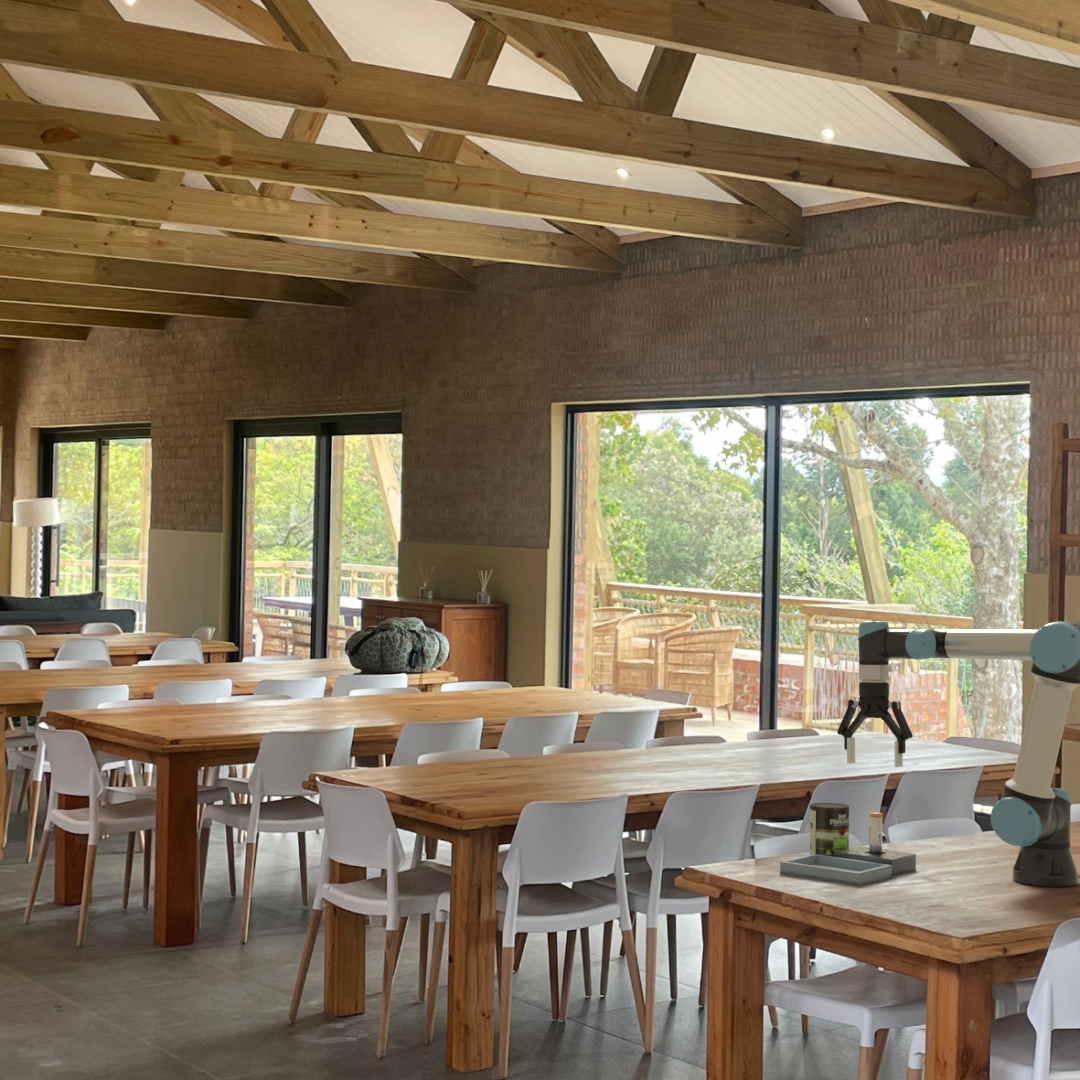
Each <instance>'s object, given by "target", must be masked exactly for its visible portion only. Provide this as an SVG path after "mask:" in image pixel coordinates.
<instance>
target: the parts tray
mask: <svg viewBox="0 0 1080 1080" xmlns="http://www.w3.org/2000/svg"><path fill="white" fill-rule="evenodd" d="M780 873H781V874H780ZM779 874H780V875H784V874H787V875H786V876H791V875H793V876H792V877H797V876H798V877H799V878H804V879H811V880H816V881H824V882H829V883H834V884H835V883H836V884H842V885H849V886H854V887H855V886H856V887H861V886H865V885H868V884H872V883H876V882H880V881H884V880H887V879H891V878H892V877H893V876H892V865H887V864H880V863H873V862H866V861H859V860H852V859H845V858H838V857H831V856H824V855H818V854H813V855H810V854H808V855H805V856H799V857H795V858H790V859H786V860H782V861H780V862H779Z"/></svg>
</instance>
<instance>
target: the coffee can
mask: <svg viewBox="0 0 1080 1080" xmlns="http://www.w3.org/2000/svg"><path fill="white" fill-rule="evenodd" d="M809 809H810V810H809V823H810V824H809V855H813V854H818V855H824V856H831V857H836V852H837V851H841V850H846V849H850V848H849V844H850V843H849V841H850V839H849V837H850V836H849V835H850V832H849V831H850V828H849V827H850V805H847V804H844V803H836V802H814V803H813V802H812V803H810V804H809Z"/></svg>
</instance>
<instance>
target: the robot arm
mask: <svg viewBox="0 0 1080 1080" xmlns="http://www.w3.org/2000/svg"><path fill="white" fill-rule="evenodd" d="M857 641H858V680H859V681H860V682H859V683H858V694H859V695H858V696H859V700H857V699H856V698H854V699H853V698H852V699H850V698H849V700H847V708H846V710H845V713H844V715H843V717H842V720H841V722H840V724H839V727H838V729H837V731H836V733H837V734H838V735H841V736H842V737H843V738H844V739H843V741H844V742H843V743H844V750H846V761H847V762H846V763H847V764H855V763H856V737H855V736H853V735H854V734H855V733H856V731H857V730H858V728H859V727H860V726H861V724H863V722H864V721H865V720H866V719H867V718H869V719H872V718H873V719H881V720H882V721H883V722H884V723H885V725H886V726H887V727H888V729H889V730H890V731H891V733H892V734H893V735H894V737H895V738H896V740H894V767H895V768H900V767H904V766H903V765H904V762H903V761H904V759H903V758H904V757H903V754H906V741H907V740H909V739H912V738H913V737H914V736H913V733H912V731H911V729H910V727H909V723H908V722H907V720H906V717H905V715H904V712H903V710H902V705H901V701H900V700H894V701H890V700H889V698H890V697H889V696H890V684H889V682H887V681H889V680H890V677H889V676H890V673H889V671H890V670H889V664H890V662H889V661H890V659H903V660H916V661H918V660H928V659H969V660H970V659H971V660H972V659H973V660H974V659H975V660H1002V661H1003V660H1004V661H1006V660H1012V661H1032V664H1031V669H1030V674H1031V676H1032V677H1033V679H1034V686H1033V690H1032V694H1031V699H1030V703H1029V708H1028V711H1027V716H1026V720H1025V721H1026V722H1025V724H1024V730H1023V733H1022V738H1021V743H1020V747H1019V751H1018V755H1017V760H1016V764H1015V768H1014V773H1013V777H1012V778H1009V779H1008V780H1006V781H1005V782H1004V787H1003V791H1002V796H1001V798H1000V799H999V800H998V801H996V803H995V804H994V806H993V807H992V809H991V812H990V824H991V827H992V829H993V830H994V833H995V834H996V835H997V837H998V838H999V839H1000V840H1001V841H1002V842H1004V843H1005V844H1007V845H1010V846H1013V847H1020V848H1019V851H1018V854H1017V857H1016V860H1015V862H1014V866H1013V868H1012V880H1013V881H1015V882H1016V883H1017V882H1018V883H1021V884H1025V885H1031V886H1041V887H1053V888H1054V887H1057V888H1058V887H1063V888H1064V887H1072V886H1076V885H1078V884H1079V875H1078V874H1079V873H1078V870H1077V868H1076V864H1075V862H1074V858H1073V854H1072V853H1071V806H1072V802H1071V794H1070V792H1069V790H1067V789H1065V788H1060V787H1059V788H1057V787H1051V785H1052V782H1053V777H1054V773H1055V768H1056V764H1057V759H1058V755H1059V751H1060V747H1061V743H1062V740H1063V734H1064V730H1065V725H1066V721H1067V717H1068V712H1069V709H1070V704H1071V700H1072V696H1073V691H1074V690H1075V689H1076V688H1078V687H1080V621H1060V620H1059V621H1053V622H1049V623H1046V624H1044V625H1043V626H1041V627H1040V628H1038V629H1009V628H1008V629H1002V628H1001V629H1000V628H999V629H998V628H997V629H996V628H995V629H994V628H993V629H992V628H991V629H990V628H987V629H984V628H981V629H979V628H940V627H939V628H936V627H935V628H934V627H933V628H890V627H889V623H888V622H887V621H886V620H884V621H883V620H881V621H879V620H872V621H871V620H867V621H861V622H860V623H859V625H858V638H857ZM858 707H859V709H860V710H859V712H858V713H857V715H856V717H855V718H854V715H855V713H856V710H857V708H858ZM889 708H890V709H891V711H892V713H893V716H894V718H895V720H896V721H895V720H894V718H893V717H892V715H891V713H890V711H889V710H890V709H889ZM853 718H854V719H853ZM852 720H853V721H852Z"/></svg>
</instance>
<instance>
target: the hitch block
mask: <svg viewBox="0 0 1080 1080" xmlns="http://www.w3.org/2000/svg"><path fill="white" fill-rule="evenodd" d="M836 857H838V858H845V859H852V860H859V861H866V862H873V863H880V864H887V865H892V877H893V876H897V875H902V874H905V873H909V872H913V871H916V870H917V868H916V867H917V865H916V864H917V863H916V862H917V855H916V853H913V852H912V853H911V852H903V851H896V850H889V849H884V848H882V854H881V855H876V854H869V847H867V846H860V845H859V846H855V847H850V848H849V849H846V850H841V851H837V852H836Z"/></svg>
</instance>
